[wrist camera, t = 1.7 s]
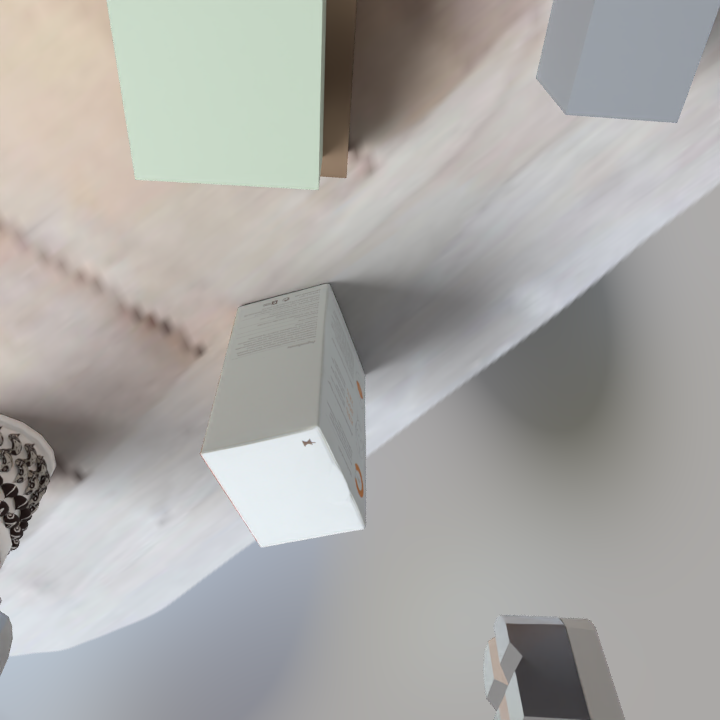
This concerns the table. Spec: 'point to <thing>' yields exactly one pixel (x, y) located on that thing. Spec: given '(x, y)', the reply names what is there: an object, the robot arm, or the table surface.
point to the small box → (291, 420)
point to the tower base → (338, 85)
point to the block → (624, 56)
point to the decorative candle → (20, 479)
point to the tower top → (223, 89)
